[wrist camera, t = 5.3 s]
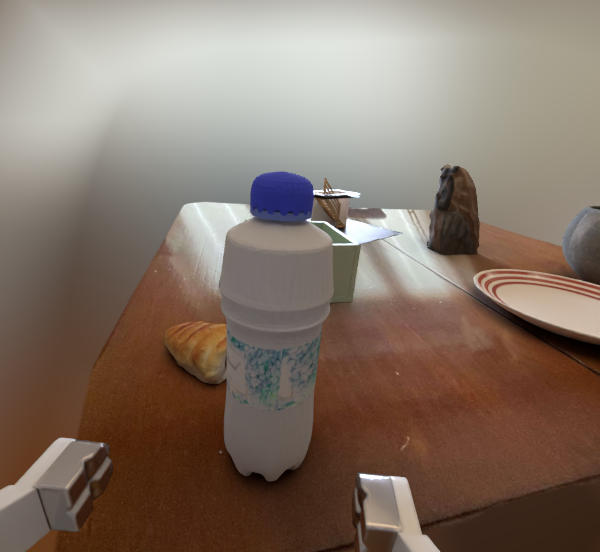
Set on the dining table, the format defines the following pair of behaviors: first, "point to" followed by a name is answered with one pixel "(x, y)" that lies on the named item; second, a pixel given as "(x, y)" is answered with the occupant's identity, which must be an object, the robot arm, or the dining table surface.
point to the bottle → (274, 324)
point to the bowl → (584, 244)
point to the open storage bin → (342, 262)
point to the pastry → (200, 349)
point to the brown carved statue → (455, 214)
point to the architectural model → (344, 215)
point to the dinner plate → (546, 301)
